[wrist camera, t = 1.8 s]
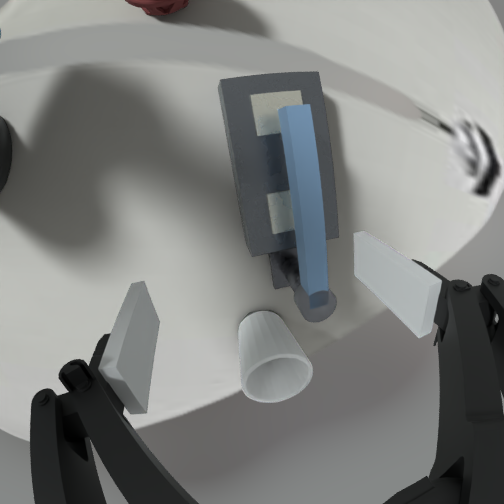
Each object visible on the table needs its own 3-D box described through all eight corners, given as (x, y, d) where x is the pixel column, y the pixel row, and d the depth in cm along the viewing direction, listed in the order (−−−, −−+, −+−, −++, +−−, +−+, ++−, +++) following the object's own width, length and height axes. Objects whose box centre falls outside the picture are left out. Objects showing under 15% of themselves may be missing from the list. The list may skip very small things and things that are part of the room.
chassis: (246, 243, 40) (252, 257, 35) (217, 88, 32) (220, 78, 27) (324, 226, 41) (340, 238, 36) (304, 79, 33) (319, 70, 28)
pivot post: (273, 286, 44) (289, 317, 36) (268, 251, 41) (284, 277, 34) (310, 277, 44) (331, 305, 36) (307, 243, 42) (330, 266, 34)
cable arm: (327, 304, 36) (336, 316, 33) (295, 312, 35) (303, 326, 32) (308, 106, 26) (319, 103, 24) (268, 110, 26) (275, 107, 23)
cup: (299, 313, 46) (327, 363, 35) (269, 354, 49) (288, 407, 37) (248, 293, 43) (265, 346, 32) (220, 339, 46) (228, 396, 34)
